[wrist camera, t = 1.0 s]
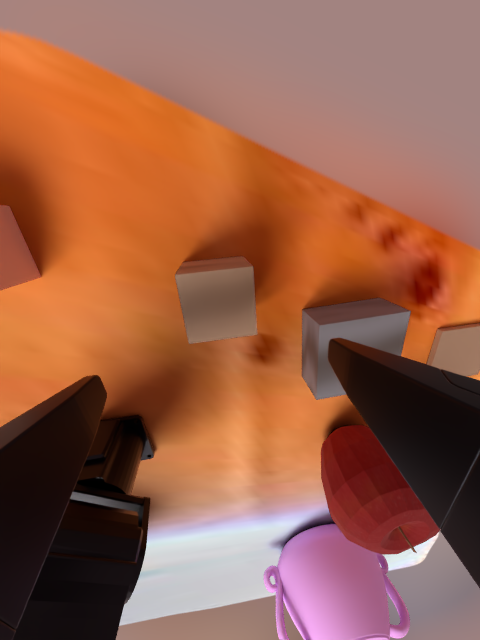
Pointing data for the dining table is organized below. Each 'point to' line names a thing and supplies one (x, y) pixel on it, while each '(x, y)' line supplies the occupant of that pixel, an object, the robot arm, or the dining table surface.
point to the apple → (371, 494)
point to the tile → (457, 349)
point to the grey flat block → (347, 337)
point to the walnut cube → (217, 298)
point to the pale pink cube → (14, 253)
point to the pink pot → (334, 589)
